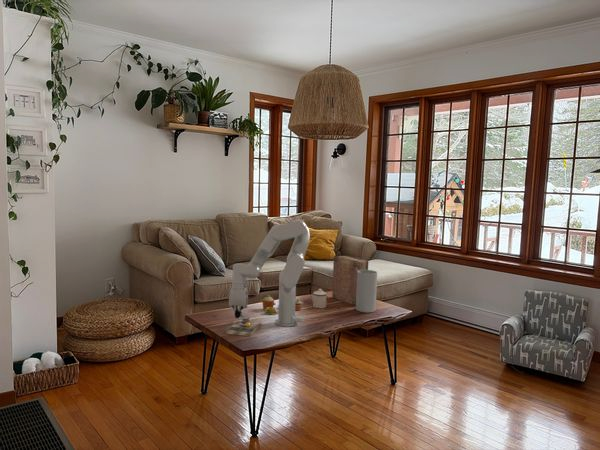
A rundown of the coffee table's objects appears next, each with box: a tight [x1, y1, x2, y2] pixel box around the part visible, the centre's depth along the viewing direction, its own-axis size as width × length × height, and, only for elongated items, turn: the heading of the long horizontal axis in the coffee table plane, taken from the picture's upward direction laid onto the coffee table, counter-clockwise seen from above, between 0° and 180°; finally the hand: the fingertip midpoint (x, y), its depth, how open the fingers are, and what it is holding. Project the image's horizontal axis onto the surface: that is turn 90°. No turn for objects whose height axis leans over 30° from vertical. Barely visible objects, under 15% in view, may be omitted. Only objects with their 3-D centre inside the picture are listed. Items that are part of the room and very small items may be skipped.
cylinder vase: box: [355, 269, 378, 314], centre depth 295 cm, size 12×12×25 cm
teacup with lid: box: [310, 288, 328, 309], centre depth 301 cm, size 12×9×12 cm
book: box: [332, 254, 369, 307], centre depth 316 cm, size 25×9×30 cm, turn 35°
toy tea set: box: [260, 294, 303, 316], centre depth 289 cm, size 26×16×10 cm, turn 117°
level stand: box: [225, 320, 263, 337], centre depth 250 cm, size 14×18×2 cm
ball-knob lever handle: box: [240, 311, 251, 328], centre depth 255 cm, size 23×6×4 cm, turn 17°
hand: (237, 317), depth 261 cm, fingers closed
